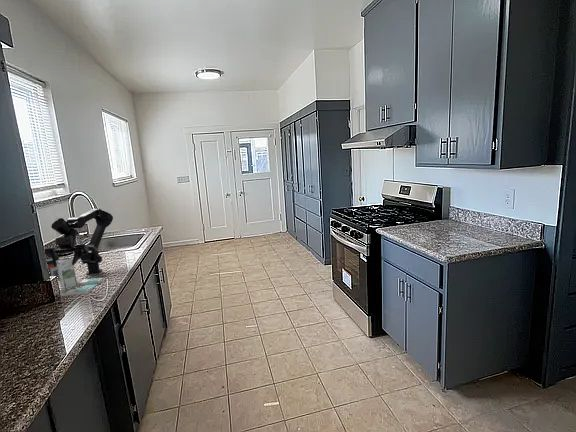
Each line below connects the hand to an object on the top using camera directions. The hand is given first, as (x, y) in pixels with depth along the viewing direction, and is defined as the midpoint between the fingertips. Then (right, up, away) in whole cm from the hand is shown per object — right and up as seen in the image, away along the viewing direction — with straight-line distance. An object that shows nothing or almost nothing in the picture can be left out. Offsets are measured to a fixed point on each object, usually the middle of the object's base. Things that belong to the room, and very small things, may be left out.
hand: (64, 265), depth 166 cm
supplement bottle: (-20, -11, +20) cm, 31 cm away
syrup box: (0, -11, +4) cm, 12 cm away
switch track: (+5, -12, +4) cm, 14 cm away
